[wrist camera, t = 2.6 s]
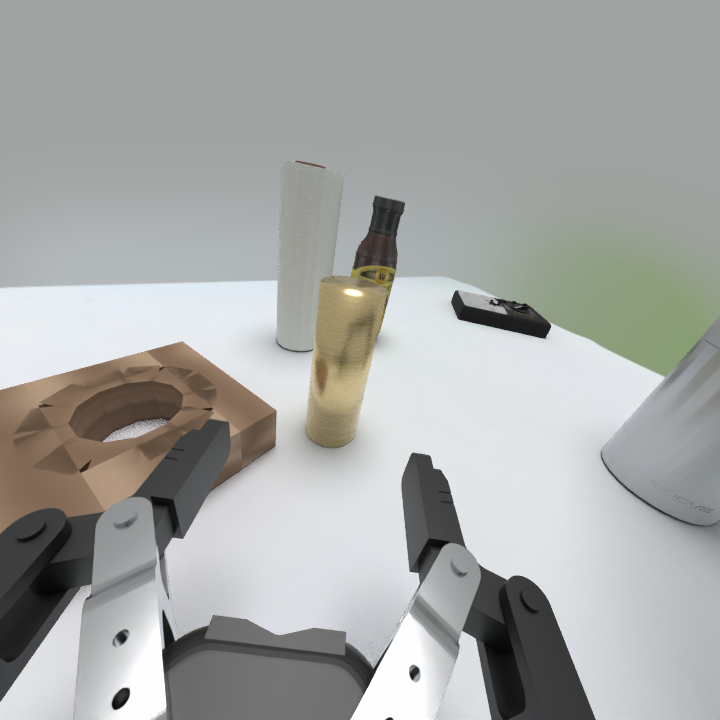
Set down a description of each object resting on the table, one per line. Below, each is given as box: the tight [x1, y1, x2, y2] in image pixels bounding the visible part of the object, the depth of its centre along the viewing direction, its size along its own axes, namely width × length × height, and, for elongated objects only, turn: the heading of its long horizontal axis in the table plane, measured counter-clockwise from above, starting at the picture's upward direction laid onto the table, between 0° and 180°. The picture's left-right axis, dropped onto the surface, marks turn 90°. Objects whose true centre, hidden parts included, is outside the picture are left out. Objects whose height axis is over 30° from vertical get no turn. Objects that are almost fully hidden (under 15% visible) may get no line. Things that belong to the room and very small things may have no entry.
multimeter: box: [451, 290, 551, 338], centre depth 66 cm, size 13×19×5 cm
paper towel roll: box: [276, 160, 344, 351], centre depth 35 cm, size 7×6×21 cm
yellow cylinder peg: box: [305, 276, 387, 448], centre depth 24 cm, size 5×5×14 cm
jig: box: [0, 342, 276, 534], centre depth 21 cm, size 14×14×4 cm
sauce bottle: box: [351, 195, 405, 336], centre depth 41 cm, size 7×6×20 cm
